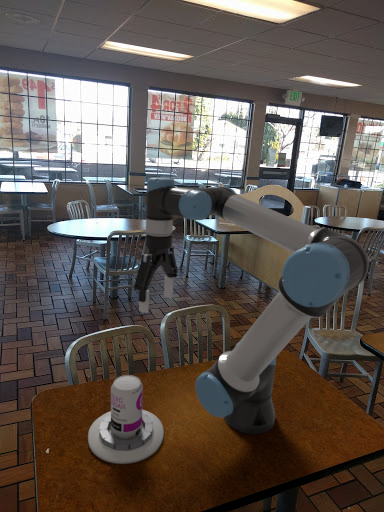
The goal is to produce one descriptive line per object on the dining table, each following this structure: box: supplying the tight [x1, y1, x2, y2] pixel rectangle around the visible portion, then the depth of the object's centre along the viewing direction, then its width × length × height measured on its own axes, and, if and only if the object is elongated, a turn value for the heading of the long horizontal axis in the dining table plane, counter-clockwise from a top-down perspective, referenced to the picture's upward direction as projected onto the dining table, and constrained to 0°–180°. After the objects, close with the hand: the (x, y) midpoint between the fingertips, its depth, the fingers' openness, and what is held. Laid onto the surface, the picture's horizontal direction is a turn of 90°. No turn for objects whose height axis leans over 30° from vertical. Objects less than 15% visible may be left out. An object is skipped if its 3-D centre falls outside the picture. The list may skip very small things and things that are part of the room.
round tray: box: [87, 409, 164, 465], centre depth 105 cm, size 20×20×3 cm
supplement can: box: [110, 374, 144, 440], centre depth 103 cm, size 8×8×15 cm
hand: (156, 304), depth 115 cm, fingers open, 13 cm apart
